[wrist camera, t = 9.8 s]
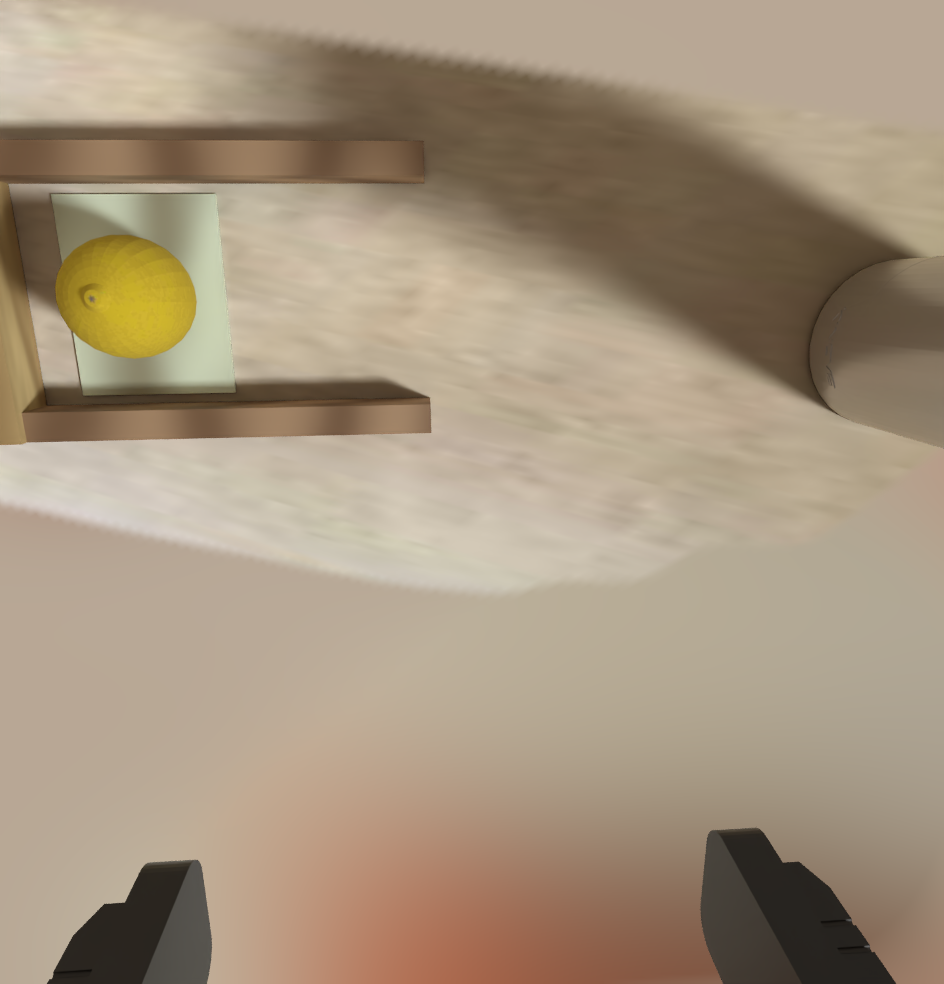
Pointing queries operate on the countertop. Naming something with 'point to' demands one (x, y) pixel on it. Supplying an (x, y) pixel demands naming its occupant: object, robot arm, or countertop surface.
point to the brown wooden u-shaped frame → (197, 245)
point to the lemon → (126, 296)
